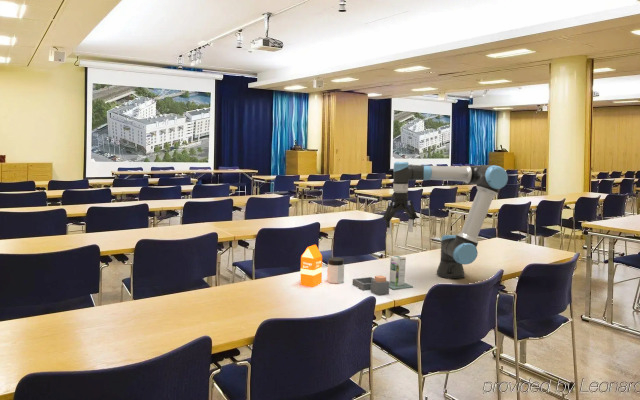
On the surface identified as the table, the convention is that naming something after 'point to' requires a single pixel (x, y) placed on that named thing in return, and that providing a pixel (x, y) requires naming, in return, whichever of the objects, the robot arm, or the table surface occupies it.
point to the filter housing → (372, 285)
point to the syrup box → (397, 270)
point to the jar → (335, 270)
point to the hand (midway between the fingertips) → (399, 232)
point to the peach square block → (380, 278)
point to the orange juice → (311, 267)
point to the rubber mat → (400, 286)
